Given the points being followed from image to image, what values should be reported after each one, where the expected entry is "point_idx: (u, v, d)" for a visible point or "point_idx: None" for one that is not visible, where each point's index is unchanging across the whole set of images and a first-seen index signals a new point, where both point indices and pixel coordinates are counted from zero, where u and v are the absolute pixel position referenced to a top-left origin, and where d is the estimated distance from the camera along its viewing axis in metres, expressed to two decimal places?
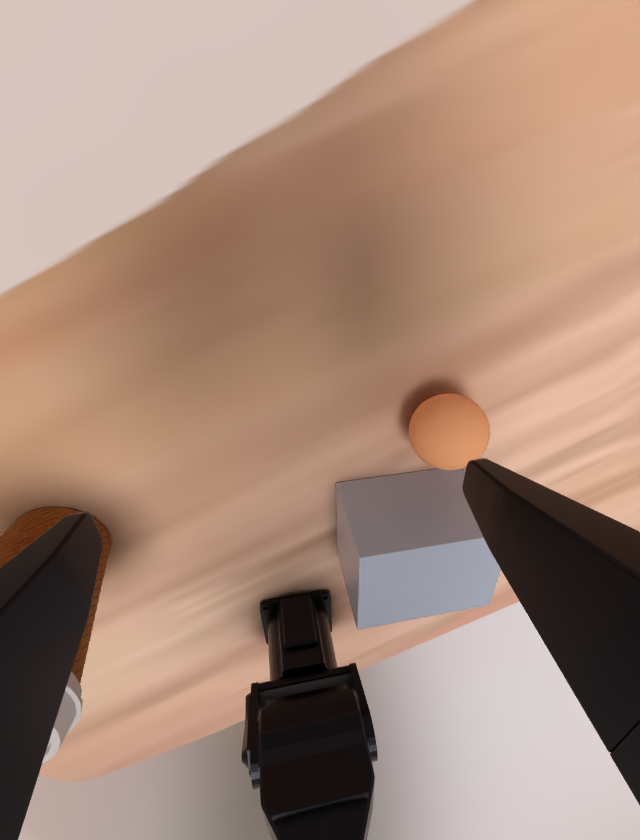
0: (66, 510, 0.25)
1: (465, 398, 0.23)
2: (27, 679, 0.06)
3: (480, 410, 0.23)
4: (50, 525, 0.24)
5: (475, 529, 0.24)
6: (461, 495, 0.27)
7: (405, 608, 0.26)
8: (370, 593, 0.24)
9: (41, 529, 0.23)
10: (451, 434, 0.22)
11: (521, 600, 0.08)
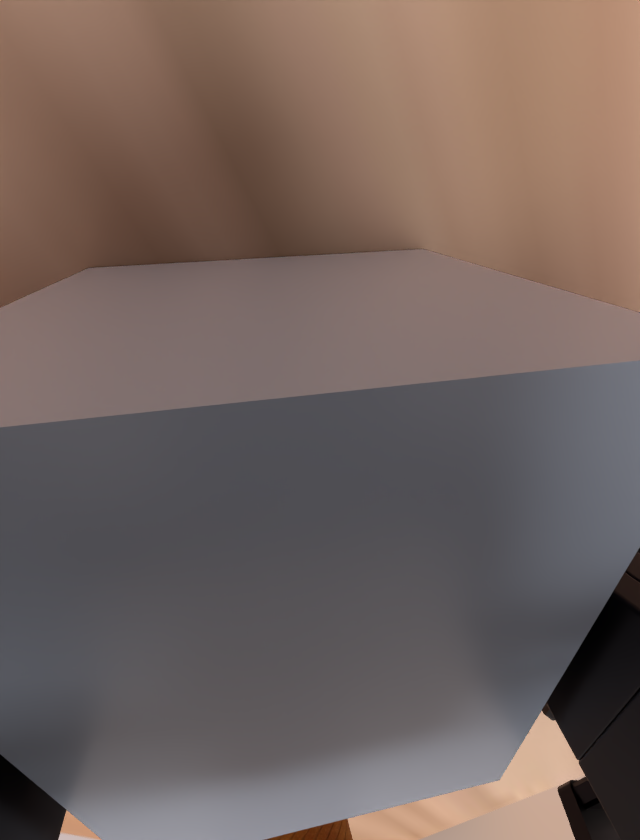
0: None
1: None
2: None
3: None
4: None
5: None
6: None
7: (461, 728, 0.06)
8: (326, 812, 0.07)
9: None
10: None
11: None
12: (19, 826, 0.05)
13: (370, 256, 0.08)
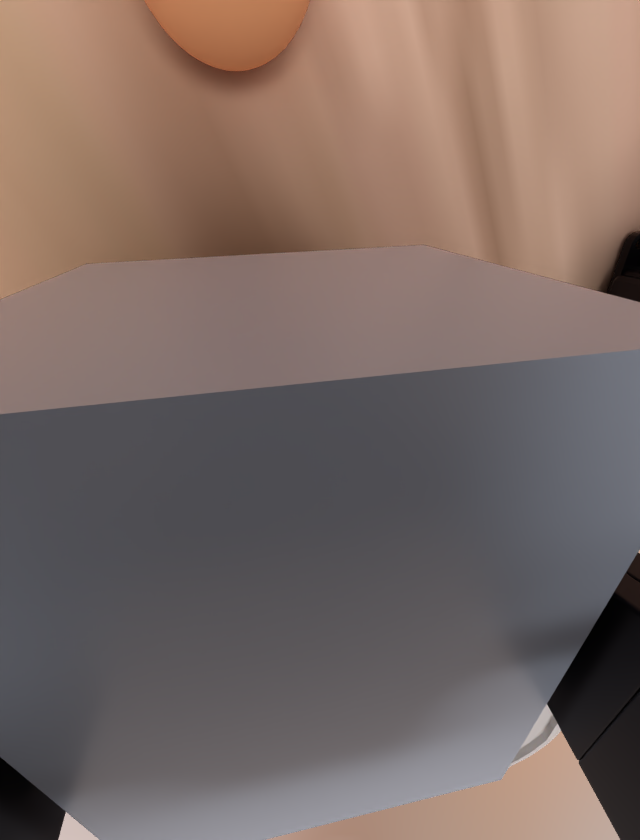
0: None
1: None
2: None
3: None
4: None
5: None
6: None
7: (462, 726, 0.06)
8: (325, 811, 0.07)
9: None
10: None
11: None
12: (19, 826, 0.05)
13: (370, 252, 0.08)
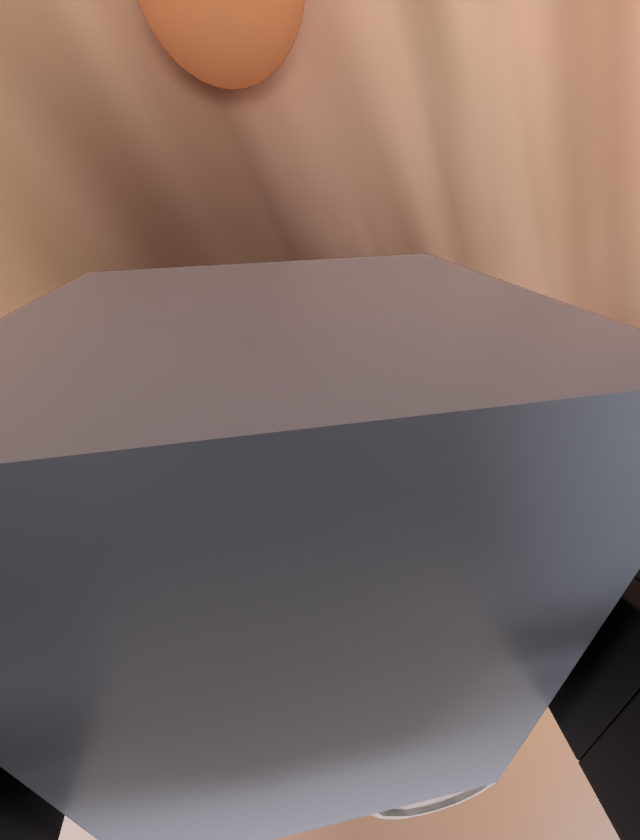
0: None
1: None
2: None
3: (169, 49, 0.11)
4: None
5: None
6: None
7: (460, 735, 0.06)
8: (325, 814, 0.07)
9: None
10: None
11: None
12: (19, 826, 0.05)
13: (372, 261, 0.08)
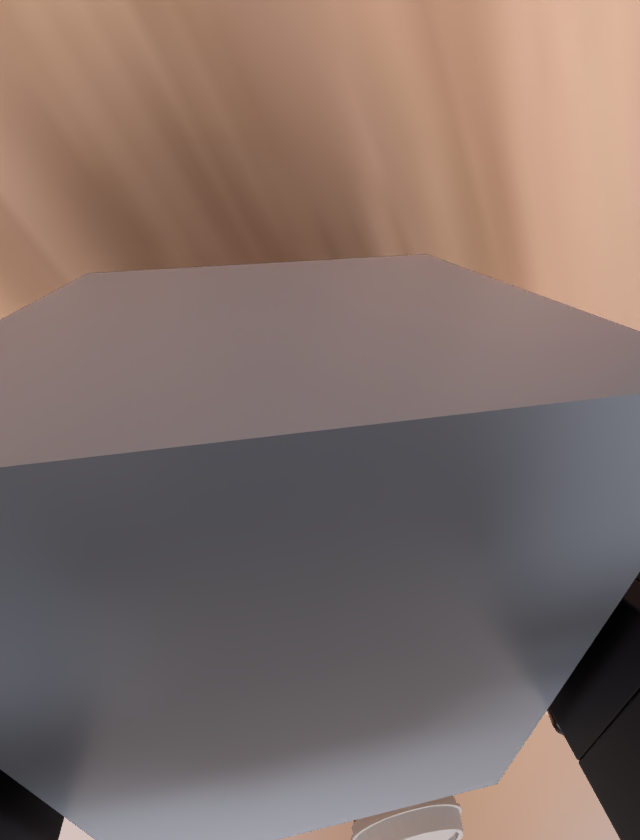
0: None
1: None
2: None
3: None
4: None
5: None
6: None
7: (460, 738, 0.06)
8: (326, 816, 0.07)
9: None
10: None
11: None
12: (19, 826, 0.05)
13: (372, 262, 0.08)
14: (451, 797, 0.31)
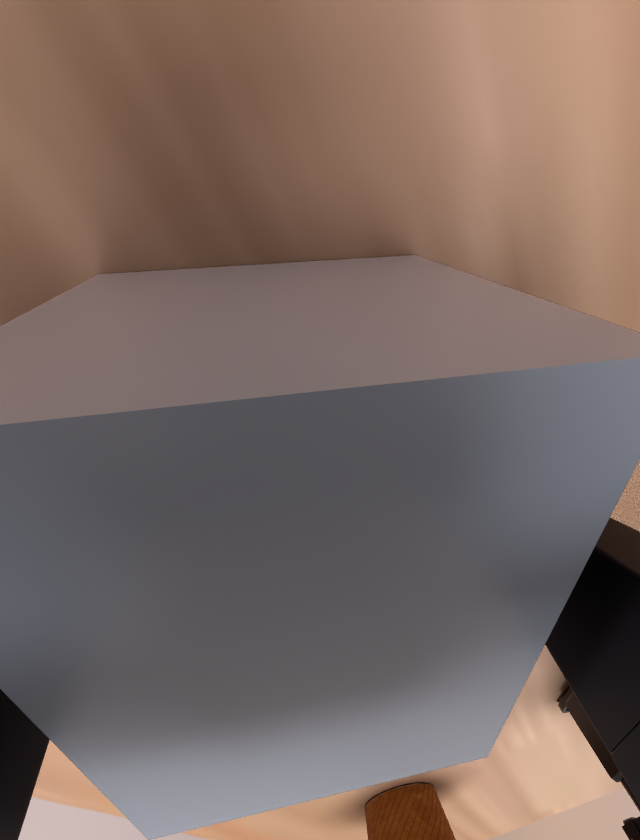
0: (369, 805, 0.31)
1: None
2: None
3: None
4: (371, 834, 0.30)
5: None
6: None
7: (448, 703, 0.07)
8: (323, 784, 0.08)
9: None
10: None
11: None
12: None
13: (364, 262, 0.09)
14: None
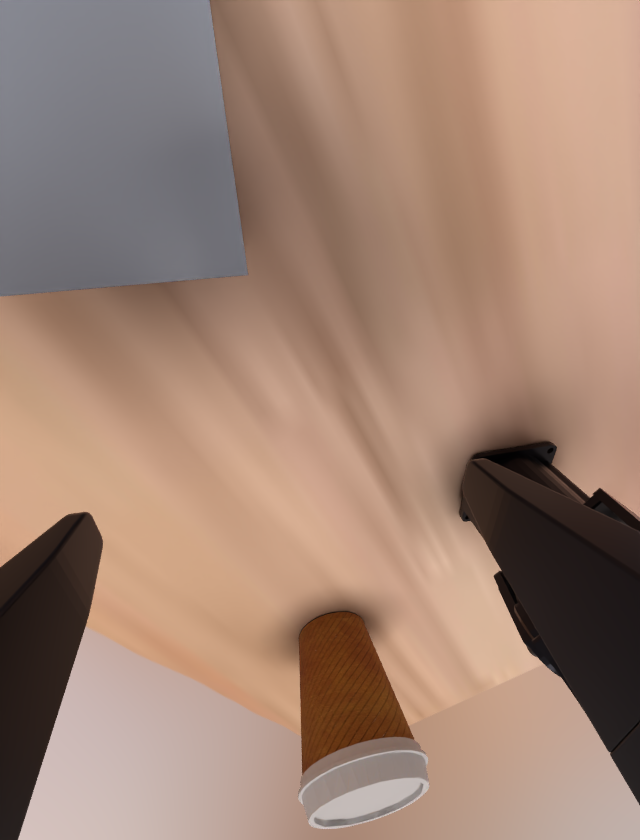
0: (301, 632, 0.34)
1: None
2: (27, 679, 0.06)
3: None
4: (301, 653, 0.33)
5: None
6: None
7: (166, 134, 0.09)
8: (101, 257, 0.10)
9: (300, 660, 0.33)
10: None
11: (521, 600, 0.08)
12: None
13: None
14: (414, 743, 0.26)
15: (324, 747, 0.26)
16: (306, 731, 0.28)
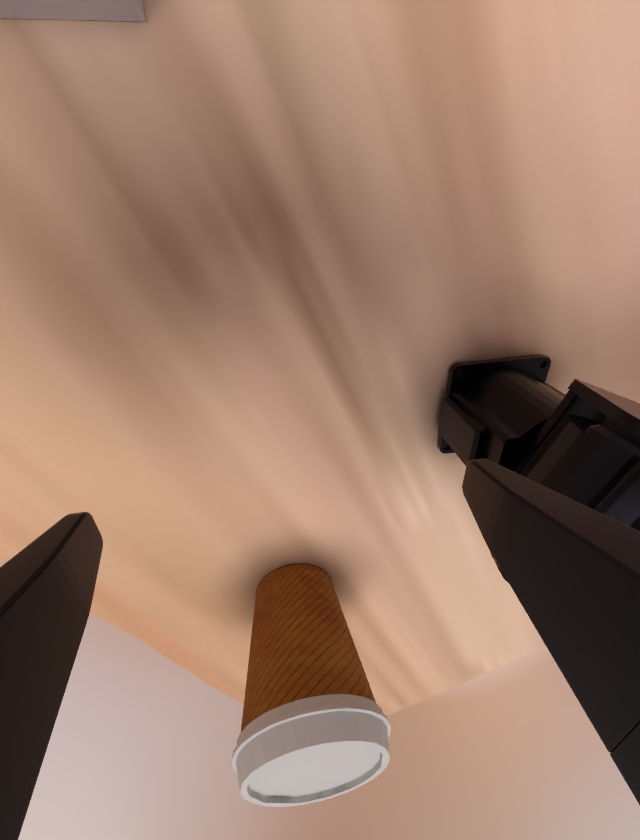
0: (258, 587, 0.30)
1: None
2: (27, 679, 0.06)
3: None
4: (255, 608, 0.29)
5: None
6: None
7: None
8: None
9: None
10: None
11: (521, 600, 0.08)
12: None
13: None
14: (374, 705, 0.22)
15: (264, 704, 0.21)
16: (248, 689, 0.24)
